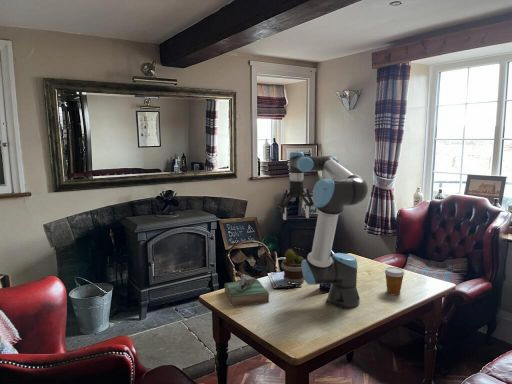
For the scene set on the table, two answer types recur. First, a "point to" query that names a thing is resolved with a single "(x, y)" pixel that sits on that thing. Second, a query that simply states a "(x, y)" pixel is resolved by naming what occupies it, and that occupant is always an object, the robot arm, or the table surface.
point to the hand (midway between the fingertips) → (296, 218)
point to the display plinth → (246, 294)
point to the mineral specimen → (245, 282)
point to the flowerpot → (292, 268)
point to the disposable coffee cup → (394, 280)
